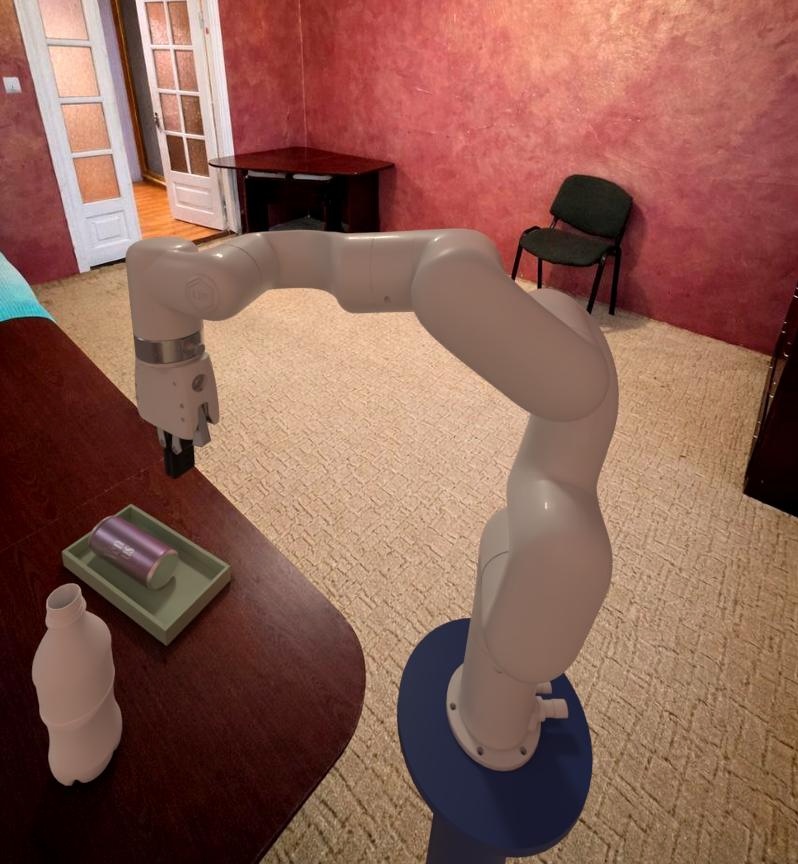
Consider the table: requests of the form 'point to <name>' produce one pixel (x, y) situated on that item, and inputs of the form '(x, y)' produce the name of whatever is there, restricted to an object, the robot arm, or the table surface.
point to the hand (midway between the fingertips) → (180, 470)
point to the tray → (163, 606)
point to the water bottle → (76, 688)
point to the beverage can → (134, 552)
